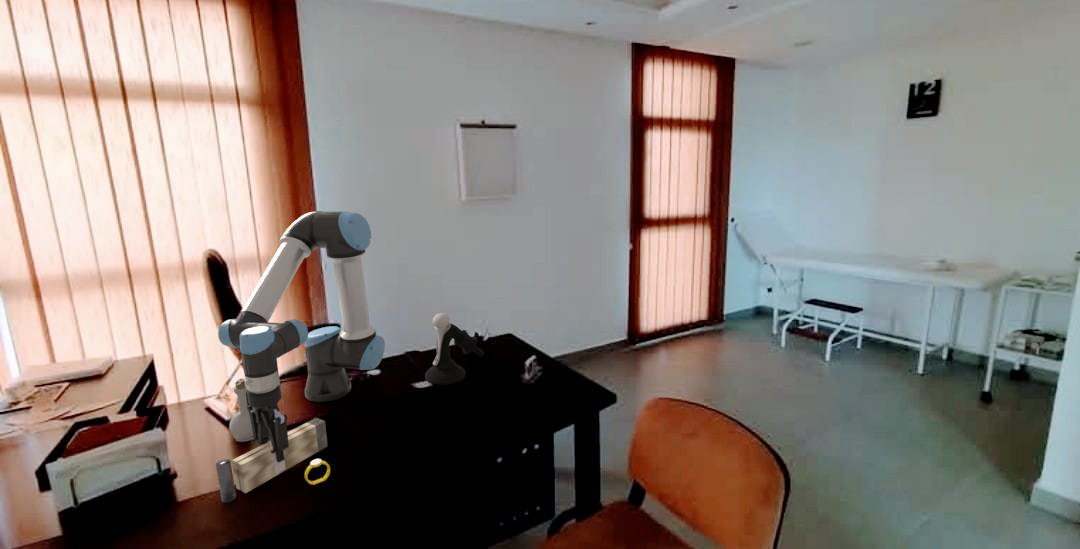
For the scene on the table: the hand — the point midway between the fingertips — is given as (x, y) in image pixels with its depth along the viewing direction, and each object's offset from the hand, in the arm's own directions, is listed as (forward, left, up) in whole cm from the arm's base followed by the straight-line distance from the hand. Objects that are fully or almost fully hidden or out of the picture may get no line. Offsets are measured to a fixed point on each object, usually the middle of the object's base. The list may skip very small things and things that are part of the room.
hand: (274, 468), depth 135 cm
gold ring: (+13, +3, -2) cm, 14 cm away
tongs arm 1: (-1, +3, -1) cm, 3 cm away
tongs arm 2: (+1, +3, -1) cm, 3 cm away
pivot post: (0, -12, -1) cm, 12 cm away
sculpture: (+2, +73, -2) cm, 73 cm away
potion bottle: (-24, +7, -2) cm, 25 cm away
